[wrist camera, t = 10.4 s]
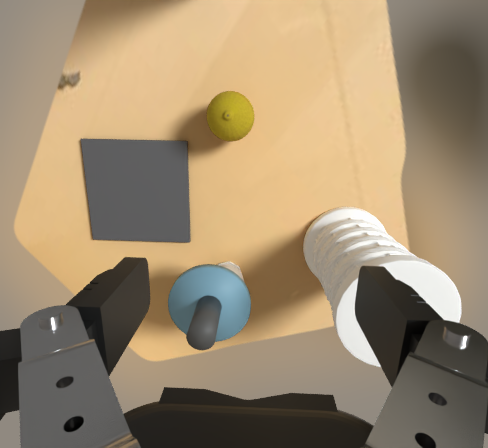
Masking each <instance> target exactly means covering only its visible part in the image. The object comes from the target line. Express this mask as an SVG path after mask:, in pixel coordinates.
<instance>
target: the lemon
mask: <svg viewBox="0 0 488 448" xmlns="http://www.w3.org/2000/svg"><path fill="white" fill-rule="evenodd" d="M207 122H208V125H209V128H210V130H211V131H212V132H213V133H214V135H216V136H217V137H218V138H220V139H222V140H225V141H237V140H240V139H242V138H243V137H245V136H246V135H247V134H248V133H249V132H250V130H251V128H252V126H253V123H254V110H253V107H252V105H251V103H250V101H249V100H248V99H247V98H246V97H245V96H244V95H242V94H240V93H238V92H234V91H226V92H223V93H220V94H218V95H217V96H215V97H214V98H213V100H212V101H211V102H210V104H209V106H208V109H207Z"/></svg>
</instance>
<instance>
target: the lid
mask: <svg viewBox="0 0 488 448" xmlns="http://www.w3.org/2000/svg"><path fill="white" fill-rule="evenodd" d="M168 307H169V312H170V315H171V318H172V320H173V321H174V323H175V324H176V326H177V327H178V328H179V329H180V330H181V331H182V332H184V333H185V334H186V335H187V336H186V338H187V341H188V343H189V345H190V346H192V347H193V348H195V349H198V350H206V349H209V348H210V347H212V346H213V345H214V343H215V342H217V341H222V340H226V339H228V338H231V337H233V336H234V335H236V334H237V333H238V332H240V331H241V330H242V328H243V327H244V326H245V324H246V323H247V321H248V318H249V315H250V309H251V298H250V293H249V290H248V288H247V286H246V284H245V283H244V281H243V280H242V279H241V278H240V277H239V276H238V275H237V274H236V273H235V272H233V271H231V270H230V269H228V268H225V267H222V266H219V265H212V264H205V265H199V266H195V267H193V268H190V269H188V270H187V271H185V272H184V273H183V274H181V275H180V276H179V278H178V279H177V280H176V282H175V283H174V285H173V287H172V289H171V291H170V294H169V299H168Z"/></svg>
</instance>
